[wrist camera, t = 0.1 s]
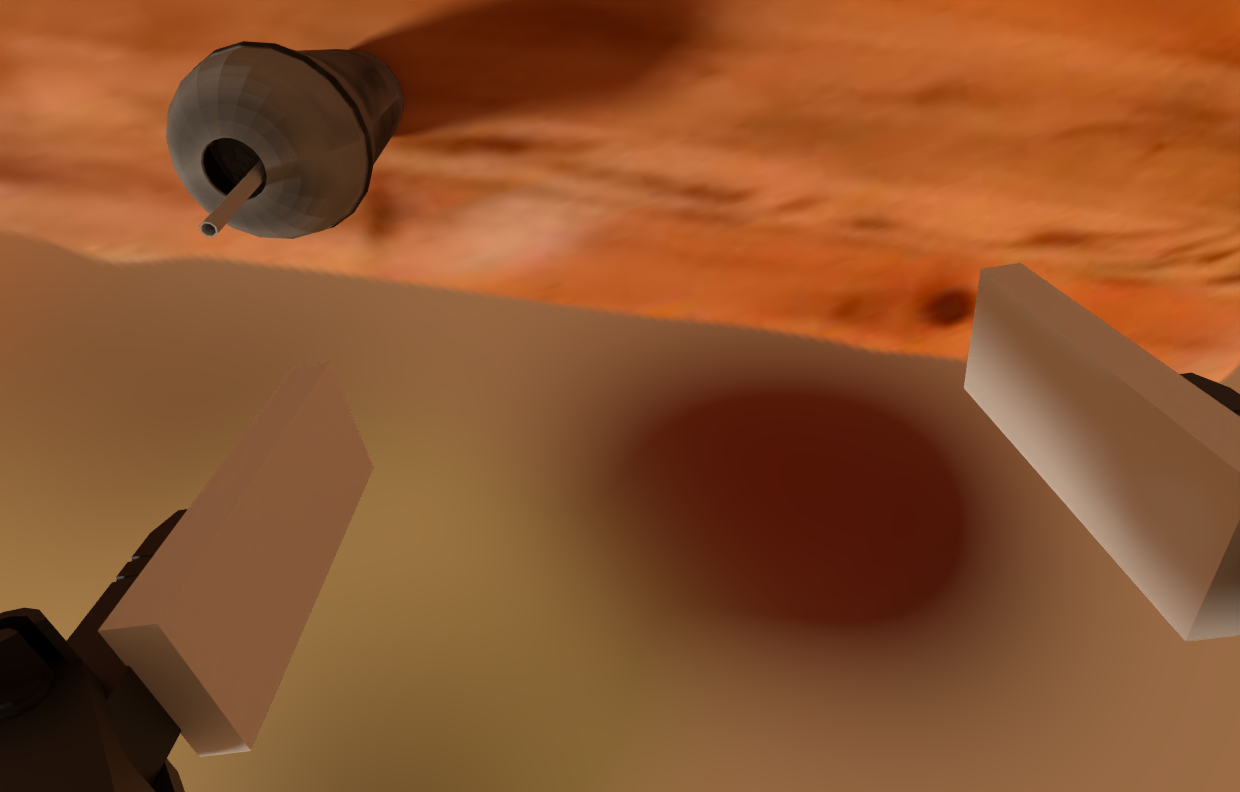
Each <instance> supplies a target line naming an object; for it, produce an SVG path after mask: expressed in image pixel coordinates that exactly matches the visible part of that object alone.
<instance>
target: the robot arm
mask: <svg viewBox="0 0 1240 792" xmlns="http://www.w3.org/2000/svg"><path fill="white" fill-rule="evenodd" d="M964 389H965V390H966V391H967V392H968V393H969V394H970V395H971V397H972V398H973V399H974V400H975V401H976V402H977V403H978V405H979V406H980V407H981V408H982V409H983V410H984V411H985V413H986V414H987V415H988V416H989V417H990V418H991V419H992V421H993V422H994V423H995V424H996V425H997V426H998V427H999V429H1000V430H1001V431H1002V432H1003V433H1004V434H1005V436H1006V437H1007V438H1008V439H1009V440H1010V441H1011V442H1012V443H1013V445H1014V446H1015V447H1016V448H1017V449H1018V450H1019V452H1020V453H1021V454H1022V455H1023V456H1024V457H1025V458H1026V460H1027V461H1028V462H1029V463H1030V464H1031V465H1032V466H1033V468H1034V469H1035V470H1036V471H1037V472H1038V473H1039V474H1040V475H1041V477H1042V478H1043V479H1044V480H1045V481H1046V482H1047V484H1048V485H1049V486H1050V487H1051V488H1052V489H1053V490H1054V492H1055V493H1056V494H1057V495H1058V496H1059V497H1060V498H1061V500H1062V501H1063V502H1064V503H1065V504H1066V505H1067V506H1068V508H1070V510H1071V511H1072V512H1073V513H1074V514H1075V516H1076V517H1077V518H1078V519H1079V520H1080V521H1081V522H1082V524H1083V525H1084V526H1085V527H1086V528H1087V529H1088V530H1089V532H1090V533H1091V534H1092V535H1093V536H1094V537H1095V538H1096V539H1097V541H1098V542H1099V543H1100V544H1101V545H1102V546H1103V548H1104V549H1105V550H1106V551H1107V552H1108V553H1109V554H1110V556H1111V557H1112V558H1113V559H1114V560H1115V561H1116V563H1117V564H1118V565H1119V566H1120V567H1121V568H1122V569H1123V570H1124V572H1125V573H1126V574H1127V575H1128V576H1129V577H1130V579H1131V580H1132V581H1133V582H1134V583H1135V584H1136V585H1137V587H1138V588H1139V589H1140V590H1141V591H1142V592H1143V593H1144V595H1145V596H1146V597H1147V598H1148V599H1149V600H1150V601H1151V602H1152V604H1153V605H1154V606H1155V607H1156V608H1157V609H1158V611H1159V612H1160V613H1161V614H1162V615H1163V616H1164V617H1165V619H1167V621H1168V622H1169V623H1170V624H1171V625H1172V627H1173V628H1174V629H1175V630H1176V631H1177V632H1178V633H1179V635H1180V636H1181V637H1182V638H1183V639H1184V640H1185V641H1194V640H1202V639H1210V638H1219V637H1228V636H1236V635H1240V394H1239V393H1237V392H1235V391H1234V390H1233V389H1231V388H1229V387H1227V386H1224V385H1222V384H1219V383H1217V382H1214V381H1211V380H1209V379H1206V378H1204V377H1201V376H1199V375H1196V374H1193V373H1185V374H1178V373H1177V372H1175V371H1174V370H1172V369H1171V368H1169V367H1168V366H1167V365H1165V364H1164V363H1162V362H1161V361H1159V360H1158V359H1157V358H1155V357H1154V356H1152V355H1151V354H1150V353H1148V352H1147V351H1145V350H1144V349H1142V348H1141V347H1140V346H1138V345H1137V344H1135V343H1134V342H1132V341H1131V340H1130V339H1128V338H1127V337H1125V336H1124V335H1122V334H1121V333H1120V332H1118V331H1117V330H1115V329H1114V328H1112V327H1111V326H1110V325H1108V324H1107V323H1105V322H1104V321H1102V320H1101V319H1100V318H1098V317H1097V316H1095V315H1094V314H1092V313H1091V312H1090V311H1088V310H1087V309H1085V308H1084V307H1082V306H1081V305H1080V304H1078V303H1077V302H1075V301H1074V300H1072V299H1071V298H1070V297H1068V296H1067V295H1065V294H1064V293H1063V292H1061V291H1060V290H1058V289H1057V288H1055V287H1054V286H1053V285H1051V284H1050V283H1048V282H1047V281H1045V280H1044V279H1043V278H1041V277H1040V276H1038V275H1037V274H1035V273H1034V272H1033V271H1031V270H1030V269H1028V268H1027V267H1025V266H1024V265H1023V264H1021V263H1018V264H1011V265H1004V266H997V267H990V268H983V269H981V271H980V278H979V285H978V292H977V299H976V306H975V313H974V320H973V327H972V334H971V341H970V348H969V355H968V362H967V369H966V376H965V384H964ZM373 468H374V467H373V465H372V462H371V460H370V458H369V455H368V453H367V451H366V448H365V446H364V444H363V441H362V439H361V436H360V434H359V431H358V429H357V426H356V424H355V421H354V420H353V417H352V414H351V412H350V409H349V407H348V405H347V402H346V400H345V397H344V395H343V393H342V390H341V388H340V385H339V383H338V381H337V378H336V376H335V374H334V371H333V369H332V366H331V364H330V362H324V363H317V364H310V365H303V366H296V367H293V368H292V369H291V371H290V372H289V373H288V375H287V376H286V377H285V379H284V380H283V381H282V383H281V384H280V386H279V387H278V388H277V389H276V391H275V392H274V394H273V395H272V396H271V398H270V399H269V400H268V402H267V403H266V405H265V406H264V407H263V408H262V410H261V411H260V412H259V414H258V415H257V416H256V418H255V419H254V421H253V422H252V423H251V425H250V426H249V427H248V429H247V430H246V431H245V433H244V434H243V435H242V437H241V438H240V439H239V441H238V442H237V443H236V445H235V446H234V448H233V449H232V450H231V452H230V453H229V454H228V456H227V457H226V459H225V460H224V461H223V463H222V464H221V465H220V467H219V468H218V469H217V470H216V472H215V473H214V475H213V476H212V477H211V479H210V480H209V481H208V483H207V484H206V485H205V487H204V488H203V489H202V491H201V492H200V493H199V495H198V496H197V497H196V499H195V500H194V502H193V503H192V504H191V506H190V507H189V508H188V509H185V510H179V511H177V512H176V513H174V514H173V515H172V516H171V517H170V518H168V519H167V520H166V521H165V522H163V523H162V524H161V525H160V526H158V527H157V528H156V529H155V530H153V531H152V532H151V533H150V534H149V535H148V537H147V538H146V539H145V541H144V542H143V543H142V545H141V546H140V547H139V548H138V550H137V551H136V552H135V554H134V555H133V556H132V562H127V564H126V565H125V566H124V568H123V569H122V570H121V572H120V573H119V574H118V575H117V577H116V578H117V581H116V582H113V583H111V584H110V586H109V587H108V588H107V590H106V591H105V592H104V593H103V595H102V596H101V597H100V599H99V600H98V601H97V602H96V604H95V605H94V606H93V608H92V609H91V610H90V611H89V613H88V614H87V615H86V617H85V618H84V619H83V621H82V622H81V623H80V624H79V626H78V627H77V629H76V630H75V631H74V632H73V633H72V635H71V636H70V637H69V639H68V640H67V641H66V640H65V639H64V638H63V637H62V636H61V635H60V633H59V632H58V631H57V630H56V629H55V628H54V626H53V625H52V624H51V623H50V622H49V621H48V620H47V618H46V617H45V616H44V615H43V614H42V612H41V611H40V610H37V609H30V608H21V609H16V610H11V611H6V612H3V613H0V792H185V791H184V788H183V785H182V782H181V780H180V776H179V774H178V772H177V770H176V769H175V768H174V767H173V765H172V764H171V763H170V762H169V761H168V759H167V757H168V755H169V753H170V751H171V749H172V747H173V745H174V744H175V742H176V740H177V738H178V736H179V734H180V733H181V734H182V736H183V737H184V738H185V739H186V740H187V742H188V743H189V744H190V745H191V747H192V748H193V749H194V750H195V751H196V753H197V754H198V755H199V756H200V757H202V756H210V755H219V754H228V753H236V752H244V751H251V749H252V747H253V744H254V742H255V740H256V738H257V735H258V733H259V730H260V728H261V726H262V724H263V721H264V719H265V717H266V715H267V712H268V710H269V707H270V705H271V703H272V701H273V698H274V696H275V694H276V691H277V689H278V687H279V685H280V682H281V680H282V678H283V675H284V673H285V671H286V668H287V666H288V664H289V661H290V659H291V657H292V654H293V652H294V650H295V648H296V645H297V643H298V641H299V638H300V636H301V634H302V631H303V629H304V627H305V625H306V622H307V620H308V618H309V615H310V613H311V611H312V608H313V606H314V604H315V602H316V599H317V597H318V595H319V592H320V590H321V588H322V585H323V583H324V581H325V579H326V576H327V574H328V572H329V569H330V567H331V565H332V562H333V560H334V557H335V555H336V553H337V551H338V549H339V546H340V544H341V542H342V539H343V537H344V535H345V532H346V530H347V528H348V525H349V523H350V521H351V518H352V516H353V514H354V512H355V509H356V507H357V505H358V502H359V500H360V498H361V495H362V493H363V491H364V489H365V486H366V484H367V482H368V479H369V477H370V474H371V472H372V470H373Z"/></svg>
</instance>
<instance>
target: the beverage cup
mask: <svg viewBox="0 0 1240 792" xmlns="http://www.w3.org/2000/svg"><path fill="white" fill-rule="evenodd" d="M403 108H404V105H403V94H402V90H401V88H400V85H399V83H398V80H397V78H396V77H395V75H394V74H393V73H392V71H391V70H390V69H389V67H388V66H387V65H385V64H384V63H383V62H382V61H380V60H379V59H378V58H376V57H375V56H372V55H370V54H367V53H365V52H362V51H354V50H342V49H330V50H305V51H295V50H291V49H288V48H286V47H283V46H280V45H278V44H275V43H260V42H245V41H243V42H240V43H237V44H233V45H230V46H227V47H224V48H220V49H217V50H215V51H213V52H212V53H211V54H210V55H209V56H208V57H207V58H205V59H204V60H203V61H202V62H201V63H200V64H198V65H197V66H196V67H195V68H194V69H193V70H192V71H191V72H190V73H189V74H188V75H187V76H186V77H185V78H184V79H183V80H182V81H181V83H180V85H179V87H178V89H177V91H176V93H175V96H174V98H173V100H172V102H171V104H170V107H169V110H168V119H167V136H166V139H167V143H168V147H169V151H170V154H171V158H172V162H173V166H174V169H175V171H176V172H177V174H178V176H179V177H180V179H181V181H182V182H183V184H184V186H185V188H186V189H187V191H188V192H189V193H190V194H191V196H192V197H193V198H194V199H195V200H196V201H197V202H198V203H199V204H200V205H201V206H202V207H203V208H204V209H205V210H206V211H207V212H208V213H210V215H209V216H208V217H207V218H206V219H205V220H204V221H203V222H202V223H201V224H200V225H199V228H200V232H201V233H202V234H203V235H205V236H206V237H214V236H216V235H217V234H218V233H219V231H220V230H221V229H222V228H223V227H224V226H225V224H227V225H229V226H231V227H232V228H234V229H237V230H240V231H243V232H246V233H249V234H252V235H255V236H258V237H267V238H287V239H294V238H297V237H301V236H305V235H308V234H312V233H316V232H319V231H323V230H325V229H329V228H332V227H335V226H336V225H338V224H339V223H340V222H342V221H343V220H344V219H346V218H347V217H349V216H350V215H351V214H353V213H354V212H355V210H356V209H357V207H358V206H359V204H360V203H361V201H362V200H363V198H364V196H365V195H366V193H367V192H368V188H369V183H370V178H371V174H372V169H373V165H374V163H375V162H376V160H377V159H378V157H379V156H380V154H381V153H382V151H383V149H384V148H385V146H386V145H387V143H388V142H389V140H390V139H391V137H392V135H393V134H394V132H395V131H396V129H397V127H398V123H399V122H400V120H401V117H402V112H403Z"/></svg>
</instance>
